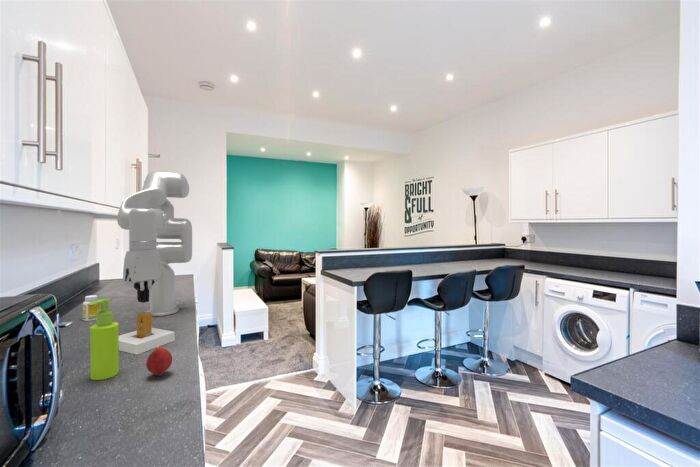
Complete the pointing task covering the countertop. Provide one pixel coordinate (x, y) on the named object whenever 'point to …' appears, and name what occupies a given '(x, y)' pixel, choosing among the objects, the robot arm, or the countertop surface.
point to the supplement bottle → (90, 308)
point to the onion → (159, 361)
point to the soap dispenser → (104, 343)
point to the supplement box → (144, 324)
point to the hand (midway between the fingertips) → (143, 301)
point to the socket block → (144, 341)
